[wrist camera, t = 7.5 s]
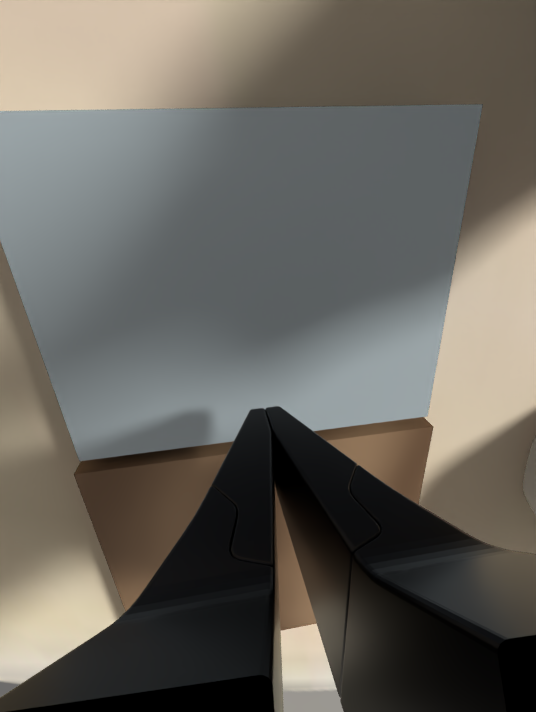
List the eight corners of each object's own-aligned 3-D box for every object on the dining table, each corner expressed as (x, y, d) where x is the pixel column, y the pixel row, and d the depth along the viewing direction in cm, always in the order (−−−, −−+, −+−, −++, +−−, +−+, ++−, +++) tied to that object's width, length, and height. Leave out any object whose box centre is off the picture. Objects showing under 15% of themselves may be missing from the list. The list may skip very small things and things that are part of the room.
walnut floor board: (411, 405, 14) (433, 426, 13) (384, 577, 19) (398, 607, 18) (90, 445, 13) (74, 474, 11) (149, 621, 18) (143, 657, 16)
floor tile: (446, 120, 10) (483, 104, 9) (406, 397, 14) (427, 416, 13) (-4, 129, 9) (-46, 111, 7) (94, 434, 13) (79, 461, 11)
